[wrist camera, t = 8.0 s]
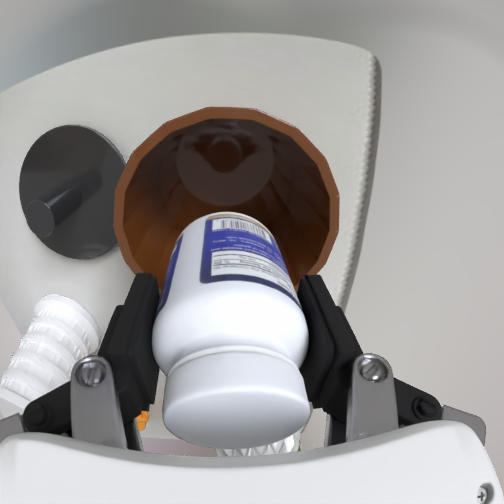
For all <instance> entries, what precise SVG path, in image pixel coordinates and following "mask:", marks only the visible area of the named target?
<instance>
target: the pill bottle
mask: <svg viewBox="0 0 504 504" xmlns="http://www.w3.org/2000/svg"><path fill="white" fill-rule="evenodd" d="M308 345H309V333H308V328H307V324H306V320H305V317H304V314H303V311H302V308H301V306H300V303H299V300H298V298H297V295H296V292H295V289H294V287H293V284H292V281H291V279H290V276H289V274H288V271H287V268H286V266H285V263H284V261H283V258H282V256H281V253H280V250H279V248H278V246H277V243H276V241H275V239H274V237H273V236H272V234H271V233H270V232H269V230H268V229H267V228H266V227H265V226H264V225H263V224H261V223H260V222H259V221H257V220H255V219H254V218H252V217H249V216H247V215H244V214H240V213H236V212H218V213H213V214H209V215H206V216H203V217H201V218H199V219H197V220H195V221H194V222H192V223H191V224H190V225H189V226H187V227H186V228H185V229H184V230H183V232H182V233H181V234H180V236H179V237H178V239H177V241H176V243H175V246H174V249H173V251H172V255H171V258H170V262H169V266H168V269H167V273H166V277H165V280H164V284H163V288H162V292H161V296H160V300H159V303H158V308H157V312H156V316H155V320H154V324H153V331H152V350H153V354H154V357H155V360H156V362H157V364H158V366H159V367H160V369H161V370H162V372H163V373H164V374H165V375H166V376H167V377H166V384H165V389H164V399H163V416H162V417H163V422H164V424H165V426H166V428H167V429H168V430H169V431H170V432H171V433H172V434H173V435H175V436H176V437H178V438H180V439H182V440H184V441H186V442H189V443H192V444H195V445H199V446H203V447H208V448H216V449H247V448H255V447H260V446H265V445H269V444H272V443H276V442H278V441H281V440H283V439H285V438H287V437H289V436H291V435H293V434H294V433H296V432H297V431H298V430H300V429H301V428H302V427H303V426H304V425H305V423H306V422H307V420H308V419H309V415H310V407H309V402H308V398H307V394H306V390H305V384H304V379H303V377H302V375H301V373H300V372H299V368H300V367H301V365H302V364H303V362H304V360H305V358H306V355H307V351H308Z"/></svg>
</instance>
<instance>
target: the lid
mask: <svg viewBox="0 0 504 504" xmlns="http://www.w3.org/2000/svg"><path fill="white" fill-rule="evenodd" d="M125 166H126V163H125V161H124V159H123V157H122V155H121V154H120V152H119V151H118V149H117V148H116V147H115V146H114V144H113V143H112V142H111V141H110V140H109V139H108V138H106V137H105V136H104V135H103V134H101V133H99V132H98V131H96V130H94V129H92V128H89V127H86V126H82V125H64V126H60V127H56V128H54V129H52V130H50V131H48V132H46V133H45V134H43V135H42V136H41V137H40V138H39V139H38V140H36V142H35V143H34V144H33V145H32V147H31V148H30V150H29V151H28V153H27V155H26V157H25V159H24V162H23V165H22V168H21V173H20V181H19V193H20V201H21V205H22V209H23V212H24V215H25V217H26V220H27V223H28V226H29V227H30V229H31V230H32V231H33V232H34V233H35V234H36V236H37V237H38V238H39V239H40V240H41V241H42V242H43V243H44V244H45V245H46V246H47V247H49V248H50V249H52V250H53V251H55V252H57V253H59V254H61V255H63V256H66V257H69V258H74V259H90V258H95V257H97V256H100V255H102V254H104V253H106V252H108V251H109V250H110V249H112V248H113V247H114V246H115V245H116V244H117V243H118V240H117V237H116V234H115V231H114V227H113V219H114V198H115V190H116V186H117V184H118V182H119V179H120V177H121V175H122V173H123V171H124V169H125Z"/></svg>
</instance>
